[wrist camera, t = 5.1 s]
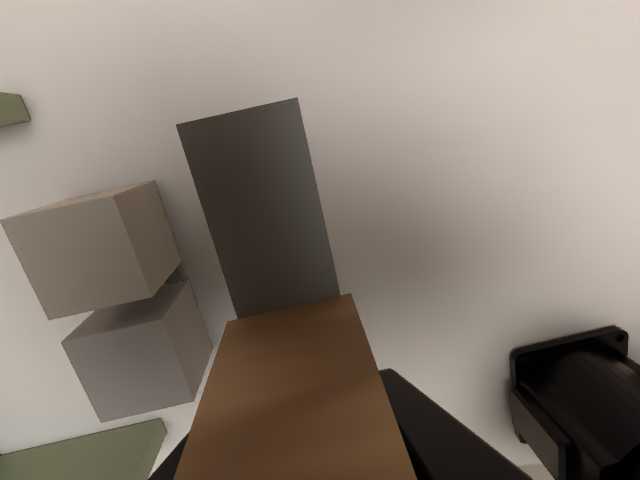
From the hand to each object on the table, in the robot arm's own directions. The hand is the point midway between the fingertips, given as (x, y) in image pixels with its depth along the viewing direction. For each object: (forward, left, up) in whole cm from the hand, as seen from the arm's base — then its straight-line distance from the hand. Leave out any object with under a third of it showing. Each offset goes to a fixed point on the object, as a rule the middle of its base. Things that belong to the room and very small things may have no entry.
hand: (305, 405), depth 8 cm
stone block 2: (+8, +2, -11) cm, 13 cm away
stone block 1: (+8, -3, -11) cm, 13 cm away
